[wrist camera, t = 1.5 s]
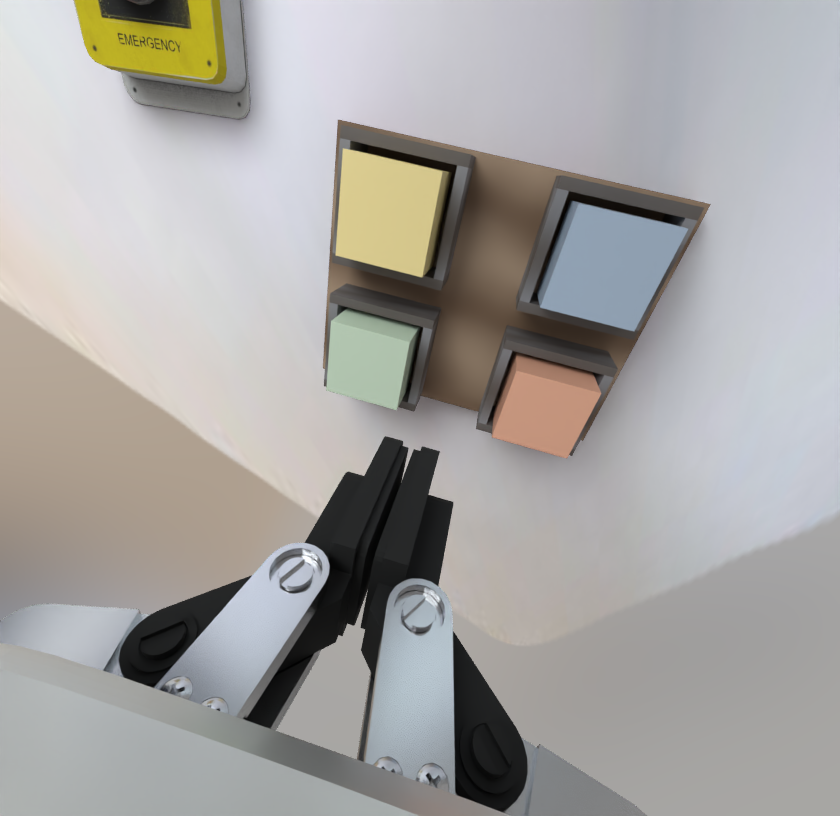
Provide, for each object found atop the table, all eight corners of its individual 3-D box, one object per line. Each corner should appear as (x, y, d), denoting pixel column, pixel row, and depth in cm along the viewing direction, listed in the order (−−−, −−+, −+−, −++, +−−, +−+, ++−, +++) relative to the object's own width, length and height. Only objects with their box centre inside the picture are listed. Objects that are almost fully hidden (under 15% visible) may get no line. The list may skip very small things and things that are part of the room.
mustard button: (364, 152, 22) (342, 148, 19) (451, 172, 22) (442, 171, 19) (355, 246, 25) (335, 255, 22) (432, 266, 24) (422, 277, 22)
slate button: (570, 200, 21) (578, 203, 18) (664, 222, 21) (688, 228, 18) (536, 292, 24) (540, 307, 21) (619, 313, 24) (634, 331, 21)
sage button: (350, 305, 27) (331, 320, 24) (420, 324, 27) (409, 342, 24) (344, 370, 30) (326, 390, 27) (407, 388, 29) (396, 410, 27)
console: (349, 123, 25) (316, 112, 20) (696, 202, 23) (737, 207, 19) (332, 358, 34) (306, 384, 30) (579, 427, 32) (589, 464, 28)
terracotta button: (516, 349, 26) (516, 370, 23) (591, 369, 26) (601, 393, 23) (493, 411, 29) (491, 437, 26) (561, 430, 29) (567, 458, 26)
